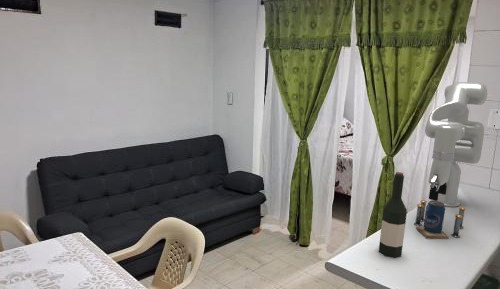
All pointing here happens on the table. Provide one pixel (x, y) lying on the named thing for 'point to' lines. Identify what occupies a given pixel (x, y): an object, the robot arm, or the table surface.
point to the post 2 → (423, 209)
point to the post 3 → (456, 226)
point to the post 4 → (461, 212)
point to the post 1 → (419, 215)
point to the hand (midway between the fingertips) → (437, 196)
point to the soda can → (434, 217)
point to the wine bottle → (393, 221)
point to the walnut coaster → (432, 236)
